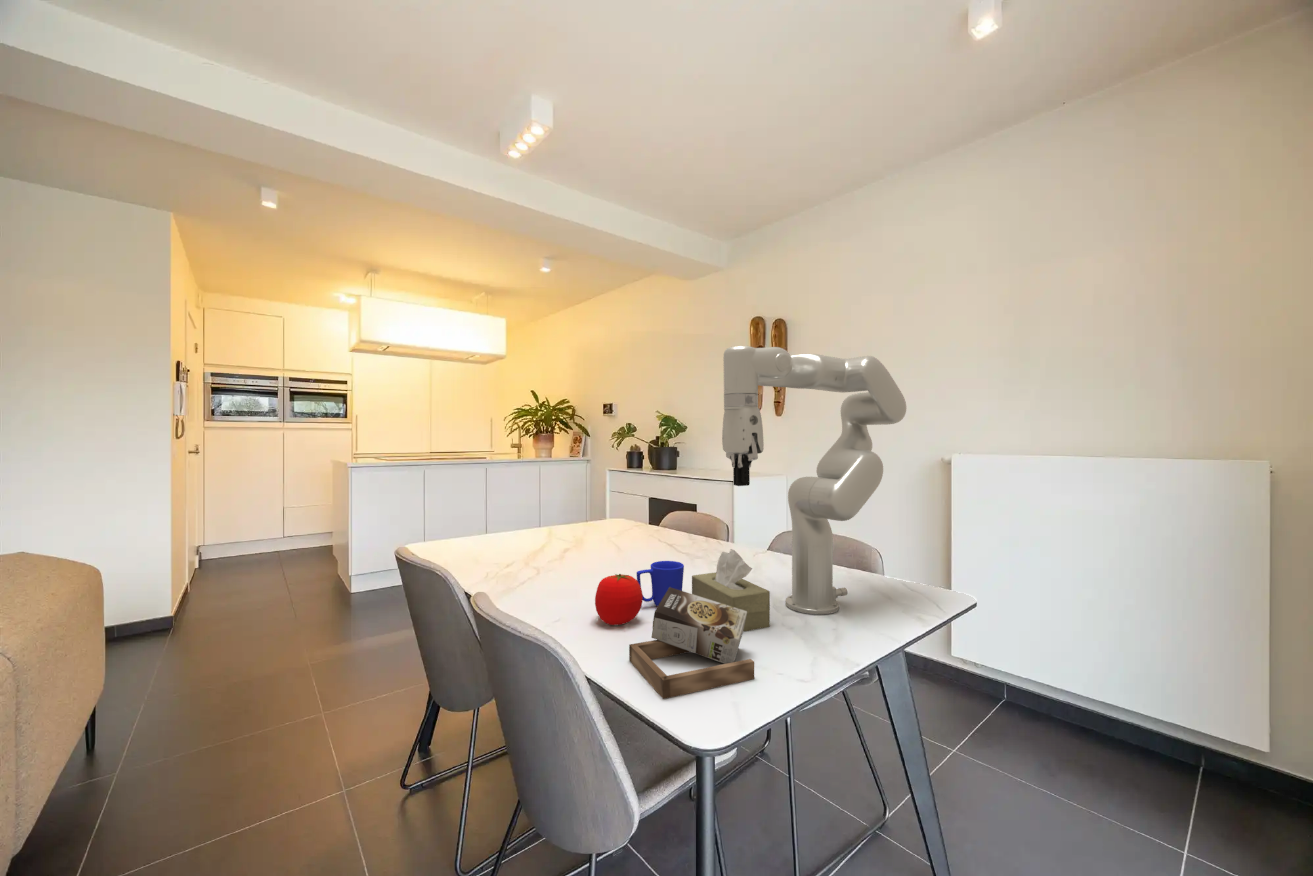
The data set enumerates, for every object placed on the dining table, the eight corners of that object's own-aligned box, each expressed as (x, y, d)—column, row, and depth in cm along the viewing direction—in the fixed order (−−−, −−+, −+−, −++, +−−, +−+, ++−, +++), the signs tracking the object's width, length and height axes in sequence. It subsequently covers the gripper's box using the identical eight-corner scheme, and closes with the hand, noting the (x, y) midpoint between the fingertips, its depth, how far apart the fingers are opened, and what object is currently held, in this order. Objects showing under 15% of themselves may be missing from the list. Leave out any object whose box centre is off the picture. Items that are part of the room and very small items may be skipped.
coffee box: (739, 639, 93) (654, 611, 97) (733, 668, 95) (649, 639, 99) (747, 609, 101) (668, 585, 105) (741, 636, 103) (664, 611, 107)
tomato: (584, 624, 116) (584, 575, 116) (614, 610, 125) (614, 565, 125) (622, 634, 110) (622, 583, 110) (650, 619, 119) (650, 572, 119)
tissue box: (771, 628, 114) (771, 555, 114) (732, 635, 110) (733, 560, 110) (725, 602, 131) (725, 539, 131) (690, 608, 127) (690, 543, 127)
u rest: (710, 645, 104) (710, 630, 104) (754, 678, 90) (754, 661, 90) (629, 660, 97) (629, 644, 97) (663, 699, 83) (663, 680, 83)
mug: (631, 604, 129) (631, 564, 129) (675, 598, 134) (675, 559, 134) (643, 615, 122) (643, 572, 122) (689, 608, 127) (689, 566, 127)
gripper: (775, 401, 111) (776, 487, 111) (736, 404, 124) (736, 481, 125) (746, 400, 108) (746, 489, 108) (708, 404, 121) (709, 483, 122)
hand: (741, 485), depth 116 cm, fingers closed
